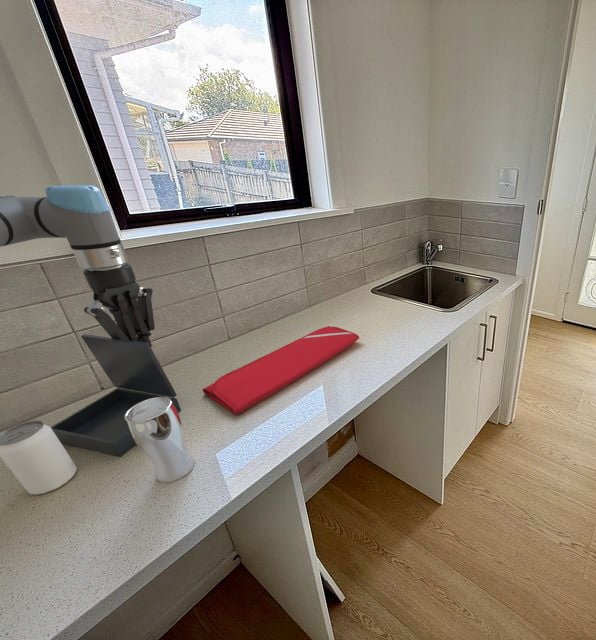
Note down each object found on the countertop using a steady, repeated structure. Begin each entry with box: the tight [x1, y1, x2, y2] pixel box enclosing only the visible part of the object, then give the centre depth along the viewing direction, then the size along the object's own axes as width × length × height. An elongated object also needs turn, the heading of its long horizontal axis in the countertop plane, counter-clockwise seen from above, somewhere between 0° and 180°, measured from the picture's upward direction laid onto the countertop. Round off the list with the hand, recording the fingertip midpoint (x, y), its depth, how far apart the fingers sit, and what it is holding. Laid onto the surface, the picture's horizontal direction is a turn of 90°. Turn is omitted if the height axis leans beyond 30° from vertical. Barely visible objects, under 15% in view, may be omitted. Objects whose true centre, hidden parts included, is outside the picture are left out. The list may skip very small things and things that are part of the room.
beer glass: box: [125, 396, 196, 483], centre depth 61 cm, size 7×7×15 cm
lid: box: [80, 333, 178, 398], centre depth 75 cm, size 15×17×1 cm
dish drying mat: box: [202, 325, 360, 416], centre depth 95 cm, size 16×41×4 cm, turn 146°
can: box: [0, 420, 78, 495], centre depth 59 cm, size 6×6×12 cm
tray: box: [49, 387, 182, 458], centre depth 74 cm, size 14×17×4 cm
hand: (147, 362), depth 79 cm, fingers closed
